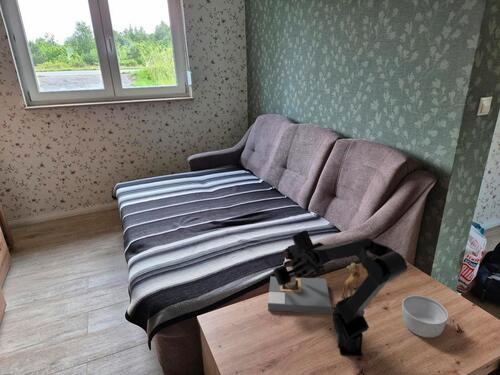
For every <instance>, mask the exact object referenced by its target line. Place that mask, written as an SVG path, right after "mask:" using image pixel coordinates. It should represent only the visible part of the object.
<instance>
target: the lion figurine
mask: <svg viewBox="0 0 500 375" xmlns="http://www.w3.org/2000/svg"><path fill="white" fill-rule="evenodd" d="M346 268H347V271H348V272H349V274H348V278H346V280H345V281H344V283H343V289H342V292H341V298H343V299H345V298H347V297H348V296H347V292H348V290H349V296H351V295H353V294H354V288H355V289H358V288H359V286H358V285H359V279H360V278H361V277H360V276H361V274H360V267H359V265H358V264H356V263H355V262H351V264H349V265H347V266H346Z"/></svg>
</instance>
